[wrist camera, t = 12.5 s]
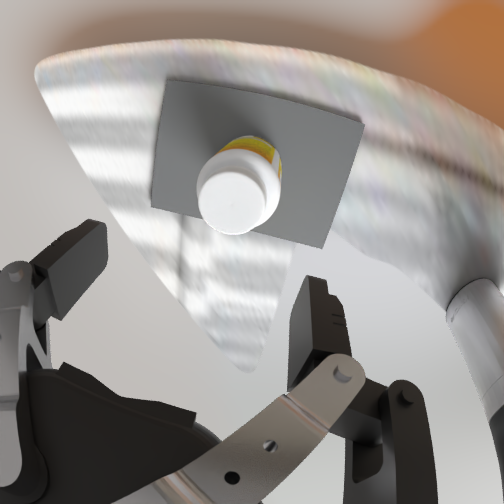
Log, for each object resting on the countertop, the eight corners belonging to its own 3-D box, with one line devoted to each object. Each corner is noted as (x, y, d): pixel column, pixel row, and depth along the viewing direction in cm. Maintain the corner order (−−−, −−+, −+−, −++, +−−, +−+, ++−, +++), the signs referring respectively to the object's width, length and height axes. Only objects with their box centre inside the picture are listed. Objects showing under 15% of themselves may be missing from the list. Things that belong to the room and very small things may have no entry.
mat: (362, 123, 23) (365, 124, 22) (321, 245, 29) (322, 249, 29) (170, 80, 22) (167, 79, 22) (153, 204, 29) (150, 206, 28)
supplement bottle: (210, 149, 25) (167, 181, 16) (266, 124, 23) (254, 140, 14) (236, 202, 27) (211, 258, 18) (291, 180, 25) (294, 229, 17)
